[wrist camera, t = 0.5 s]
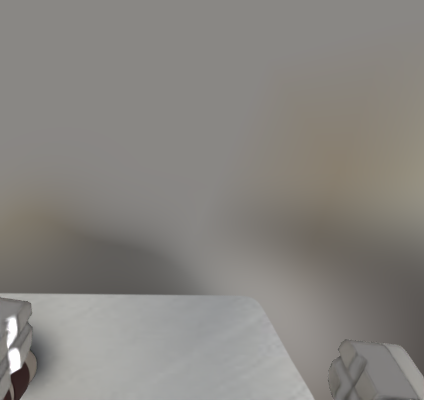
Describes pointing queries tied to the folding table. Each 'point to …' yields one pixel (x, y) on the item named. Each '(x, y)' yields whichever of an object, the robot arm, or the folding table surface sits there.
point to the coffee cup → (22, 378)
